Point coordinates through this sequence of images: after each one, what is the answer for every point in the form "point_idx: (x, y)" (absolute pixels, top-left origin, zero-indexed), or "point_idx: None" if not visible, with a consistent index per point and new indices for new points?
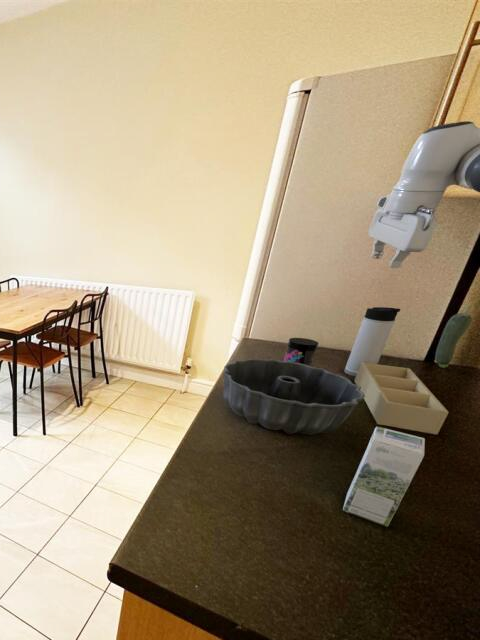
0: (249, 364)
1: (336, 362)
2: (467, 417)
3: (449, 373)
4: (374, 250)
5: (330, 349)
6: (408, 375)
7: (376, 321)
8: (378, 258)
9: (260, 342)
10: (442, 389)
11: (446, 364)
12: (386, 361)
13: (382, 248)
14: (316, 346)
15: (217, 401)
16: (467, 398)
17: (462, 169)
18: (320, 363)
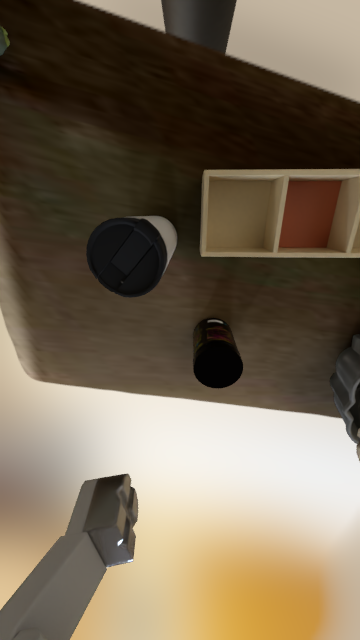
0: (352, 432)
1: None
2: (325, 97)
3: (45, 40)
4: (102, 572)
5: (15, 261)
6: (228, 177)
7: (166, 266)
8: (130, 481)
9: (50, 366)
10: (177, 95)
11: (4, 33)
12: (34, 167)
13: (66, 566)
14: (232, 348)
15: None
16: (214, 58)
17: None
18: None
